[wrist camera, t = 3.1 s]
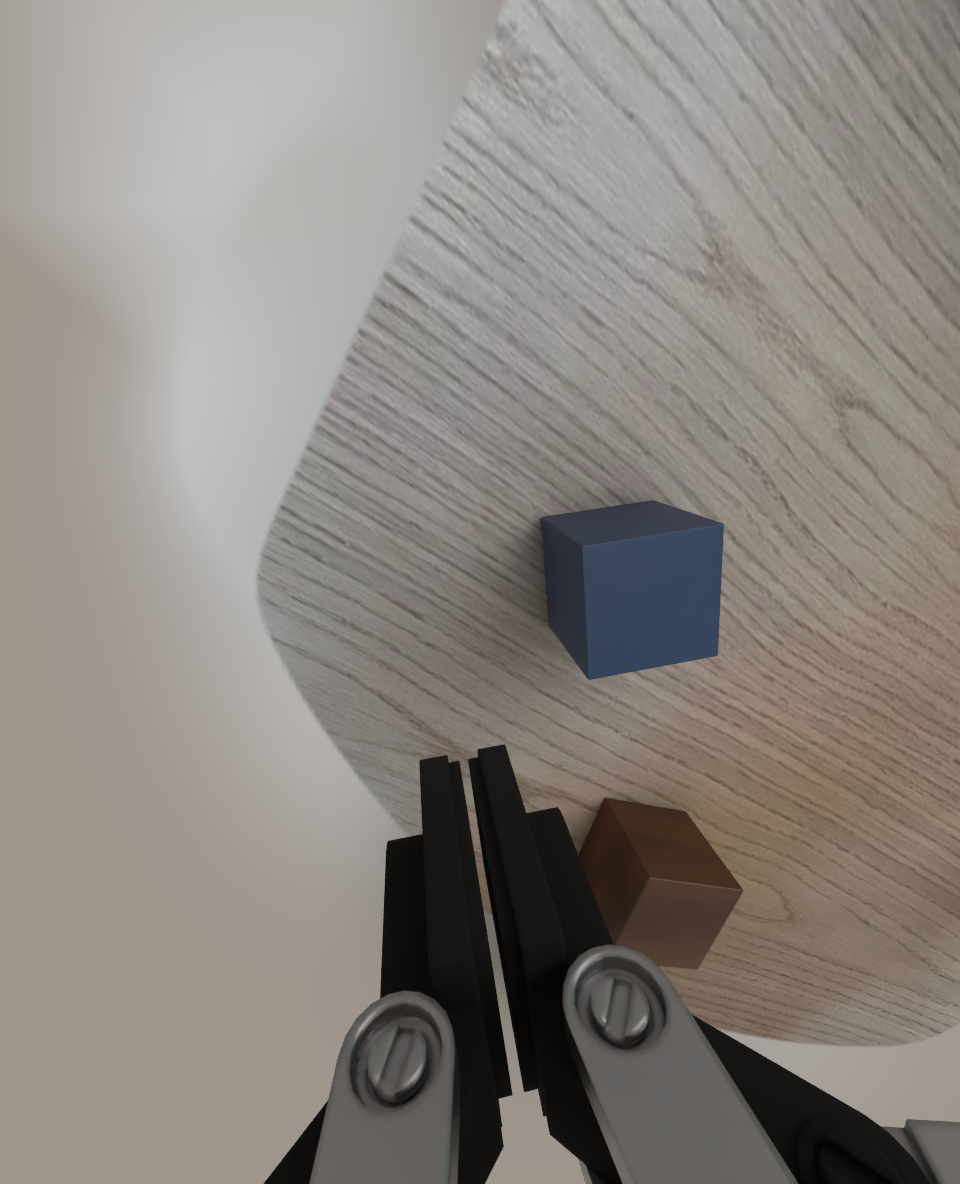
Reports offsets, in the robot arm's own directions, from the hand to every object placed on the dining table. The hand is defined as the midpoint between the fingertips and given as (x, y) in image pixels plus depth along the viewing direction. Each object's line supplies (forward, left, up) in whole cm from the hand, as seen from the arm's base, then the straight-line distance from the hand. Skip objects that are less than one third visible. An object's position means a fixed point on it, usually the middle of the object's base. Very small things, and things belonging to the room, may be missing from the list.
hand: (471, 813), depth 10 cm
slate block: (+8, 0, -13) cm, 15 cm away
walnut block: (+9, -16, -13) cm, 22 cm away
